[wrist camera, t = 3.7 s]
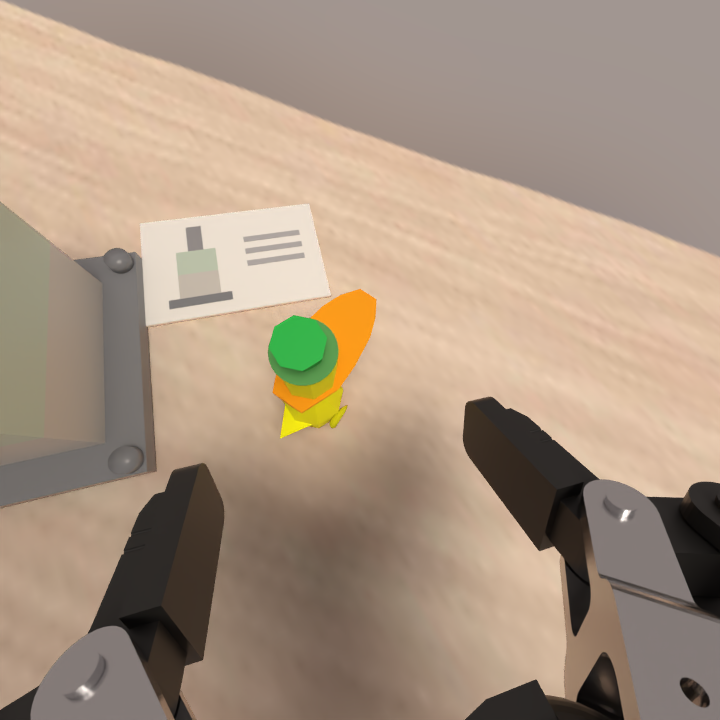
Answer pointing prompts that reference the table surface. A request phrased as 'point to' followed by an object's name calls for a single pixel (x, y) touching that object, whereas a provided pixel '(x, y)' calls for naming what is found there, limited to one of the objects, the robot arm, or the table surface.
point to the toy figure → (319, 359)
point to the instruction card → (230, 263)
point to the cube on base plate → (70, 367)
